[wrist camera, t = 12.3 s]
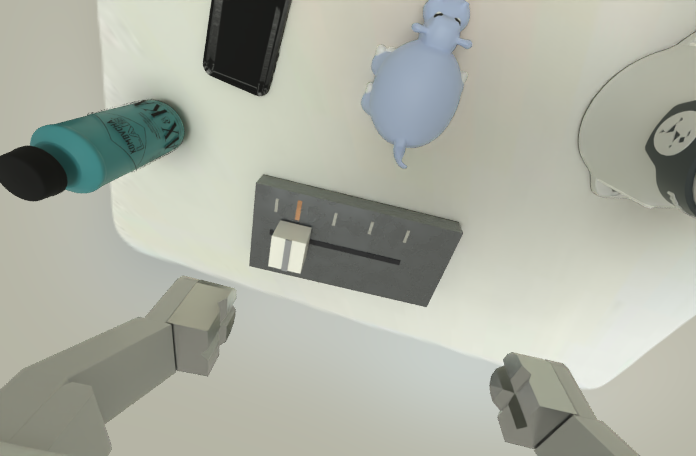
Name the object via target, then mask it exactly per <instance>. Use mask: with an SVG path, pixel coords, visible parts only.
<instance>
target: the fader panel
mask: <svg viewBox="0 0 696 456" xmlns="http://www.w3.org/2000/svg"><path fill="white" fill-rule="evenodd" d="M280 220H282V221H286V222H290V223H294V224H298V225H303V226H307V227H311V228H312V229H311V235H310V240H309V245H308V250H307V255H306V258H305V261H304V264H303V267H302V270H301V273H300V274H299V273H295V272H291V271H287V272H286V271H282V270H281V269H278V268H274V267H269V266H268V263H269V255H270V247H271V239H272V235H273V233H274V231H275V229H276V227H277V225H278V224H279V222H280ZM462 234H463V232H462V230H461V227H460V225H459V222H456V221H452V220H448V219H443V218H439V217H435V216H431V215H427V214H423V213H419V212H415V211H411V210H407V209H403V208H398V207H394V206H390V205H386V204H382V203H378V202H374V201H370V200H366V199H362V198H358V197H353V196H349V195H345V194H341V193H337V192H333V191H329V190H325V189H321V188H317V187H313V186H308V185H304V184H300V183H296V182H292V181H288V180H284V179H280V178H276V177H272V176H268V175H262V177H261V178H260V179H259V180H258V181H257V182H256V190H255V203H254V215H253V227H252V239H251V252H250V264H249V266H252V267H256V268H260V269H265V270H269V271H273V272H278V273H282V274H286V275H290V276H295V277H299V278H303V279H308V280H312V281H316V282H321V283H325V284H329V285H334V286H338V287H342V288H346V289H351V290H355V291H359V292H364V293H368V294H372V295H377V296H381V297H385V298H389V299H394V300H398V301H402V302H407V303H411V304H415V305H420V306H424V307H427V305H428V303H429V301H430V299H431V297H432V295H433V293H434V291H435V289H436V287H437V285H438V283H439V281H440V279H441V277H442V275H443V273H444V271H445V269H446V267H447V265H448V263H449V261H450V259H451V257H452V255H453V253H454V251H455V249H456V247H457V245H458V243H459V241H460V238H461V236H462Z"/></svg>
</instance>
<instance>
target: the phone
mask: <svg viewBox="0 0 696 456" xmlns="http://www.w3.org/2000/svg"><path fill="white" fill-rule="evenodd" d="M291 1H292V0H212V1H211V8H210V15H209V22H208V30H207V37H206V44H205V51H204V58H203V67H204V69H205V71H206V72H207V73H208V74H209V75H210V76H212V77H214V78H217V79H219V80H221V81H224V82H226V83H228V84H231V85H233V86H235V87H238V88H240V89H242V90H245V91H247V92H249V93H252V94H254V95H256V96H263V95H265V94H266V93H267V92H268V91H269V89H270V85H271V82H272V78H273V73H274V71H275V67H276V61H277V59H278V55H279V49H280V45H281V41H282V37H283V33H284V29H285V25H286V21H287V17H288V13H289V9H290V5H291Z"/></svg>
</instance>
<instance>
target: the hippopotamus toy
mask: <svg viewBox="0 0 696 456" xmlns="http://www.w3.org/2000/svg"><path fill="white" fill-rule="evenodd" d="M423 18H424V24H423V25H421V24H419V23H414V24H413V25H412V30H413V31H414V32H419V38H418V40H414V41H411V42H408V43H406V44H404V45H402V46H400V47H398V48H397V49H396V48H395V47H389V48H386V47H385V46H384V45H378V47H377V49H376V55H375V57H374V58H373V60H372V71H373V73H374V75H375V79H374V82H373V83H372V82H369V83H368V84H367V88H366V91H365V94H364V95H363V97H362V101H361V105H362V108H363V110H364V111H365V112H366V113H367V114H368V115H370V116H371V118H372V121H373V123H374V125H375V127H376V129H377V131H378V133H379V134H380V135H381V136H382V138H384V139H385V140H386V141H388V142H389V143H392V144H394V148H393V151H394V157H395V160H396V162H397V164H398V165H399V166H400V167H401V168H407V166H406V165H405V164H403V162H402V158H403V155H404V153H405V148H416V147H420V146H423V145H426V144H428V143H430V142H431V141H433V140H434V139H436V138H437V137H438V136H439V135H440V134H441V133H442V132H443V131H444V130H445V129H446V127H447V126H448V124H449V123H450V121H451V119H452V118H453V116H454V114H455V111H456V109H457V107H458V104H459V100H460V96H461V92H462V90H463V86H464V83H465V81H466V80H467V77H468V74H467V73H466V72H464V71H462V72H460V68H459V65H458V62H457V60H456V58H455V57H454V55H453V54H452V52H453V50H454V49H455V48H456V46H457V45H461V46H462V47H464V48H465V49H469V48H471V47H472V42H471V41H470V40H465V39H461V38H460V32H461V31H462V30H463V29H464V28H465V27H466V26H467V24H468V22H469V18H470V9H469V3H468V2H466V1H465V0H428V2H427V3H426V4H425V5H424V8H423Z"/></svg>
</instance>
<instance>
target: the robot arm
mask: <svg viewBox="0 0 696 456" xmlns="http://www.w3.org/2000/svg"><path fill="white" fill-rule="evenodd" d="M579 150H580V154H581V157H582V159H583V161H584V163H585V164H586V166H587V167H588V169H589V171H590V174H591V190H592V192H593V193H594V194H596V195H598V196H600V197H609V198H625V199H631V200H633V201H635V202H637V203H639V204H640V205H642V206H644V207H647V208H651V209H652V208H654V207H660V208H678V209H679V210H681V211H682V212H684V213H685V214H687V215H689V216H691V217H693V218H696V32H695V33H693V34H692V35H690V36H689V37H687V38H686V39H684V40H683V41H682V42H680V43H679V44H677V45H676V46H674V47H671V48H669V49H666V50H663V51H660V52H657V53H655V54H652V55H649V56H647V57H645V58H642V59H640V60H638V61H637V62H635V63H633V64H631V65H630V66H628V67H627V68H625V69H624V70H622V71H621V72H620V73H618V74H617V75H616V76H615V77H614V78H612V79H611V80H610V81H609V82H608V83H607V84H606V85H605V86H604V87H603V88H602V89H601V91H600V92H599V93H598V94H597V96H596V97H595V98H594V100H593V101H592V103H591V104H590V106H589V108H588V110H587V111H586V114H585V116H584V118H583V121H582V124H581V127H580V132H579ZM235 300H236V289H234V288H231V287H227V286H223V285H219V284H215V283H212V282H207V281H204V280H199V279H195V278H191V277H187V276H182V277H180V278H178V279H177V280H176V281H175V282H174V284H173V285H172V286H171V287H170V288H169V290H168V291H167V292H166V293H165V294H164V295H163V297H162V298H161V299H160V300H159V301H158V302H157V304H156V305H155V306H154V307H153V308H152V310H151V311H150V312H149V313H148V314H147V315H146V316H145V318H142V317H137V318H135V319H133V320H130V321H128V322H126V323H124V324H122V325H119V326H117V327H115V328H113V329H111V330H108V331H106V332H104V333H101V334H99V335H97V336H95V337H93V338H90V339H88V340H86V341H84V342H82V343H79V344H77V345H75V346H73V347H70V348H68V349H66V350H64V351H62V352H59V353H57V354H55V355H53V356H50V357H48V358H46V359H44V360H42V361H39V362H37V363H35V364H33V365H31V366H28V367H26V368H24V369H22V370H21V371H20V372H19V373H18V374H17V375H16V376H14V377H13V378H12V379H11V380H10V381H9V382H8V383H7V384H6V385H5V386H4V387H2V388H1V389H0V456H108V455H109V453H110V452H111V450H112V447H111V442H110V439H109V436H108V433H107V430H106V427H105V424H106V423H107V422H108V421H110V420H111V419H113V418H114V417H115V416H117V415H118V414H119V413H121V412H122V411H124V410H125V409H126V408H127V407H129V406H130V405H131V404H133V403H135V402H136V401H137V400H139V399H140V398H141V397H143V396H144V395H145V394H147V393H148V392H150V391H151V390H152V389H153V388H155V387H156V386H158V385H159V384H161V383H162V382H163V381H165V380H166V379H167V378H169V377H170V376H171V375H173V374H174V373H175V372H176V370H177V371H182V372H187V373H193V374H198V375H203V376H208V375H209V373H210V371H211V370H212V368H213V366H214V364H215V362H216V360H217V358H218V356H219V346H220V345H221V344H223V343H225V342H226V340H227V338H228V336H229V334H230V332H231V329H232V326H233V324H234V319H235V312H236V311H235V310H236V309H235V308H234V306H233V303H234V301H235ZM503 361H504V366H502V367H499V368H497V369H496V370H495V371H494V373H493V374H492V376H491V380H490V394H491V397H492V401H493V402H494V404H495V405H496V406H497V407H498V408H499V410H500V412H499V415H498V421H499V424H500V427H501V430H502V434H503V437H504V440H505V442H508V443H512V444H516V445H520V446H524V447H528V448H532V449H535V450H534V451H535V453H536V454H537V455H538V456H640V455H639V454H637V453H636V452H635V451H634V450H633V449H632V448H631V447H630V446H629V445H627V443H626V442H625V441H623V440H622V439H621V438H620V437H619V436H618V435H617V434H616V433H615V432H614V431H613V430H612V429H611V428H609V427H608V426H607V425H606V424H605V423H604V422H603V421H599V420H597V418H596V416H595V415H594V413H593V411H592V409H591V408H590V406H589V404H588V402H587V401H586V399H585V397H584V395H583V394H582V392H581V390H580V388H579V387H578V385H577V383H576V381H575V380H574V378H573V376H572V374H571V372H570V371H569V369H568V368H567V367H566V366H565V365H564V364H563V363H559V362H554V361H550V360H544V359H541V358H536V357H532V356H527V355H523V354H518V353H513V352H511V353H509V354H507V355H506V357H505V358H504V359H503Z"/></svg>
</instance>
